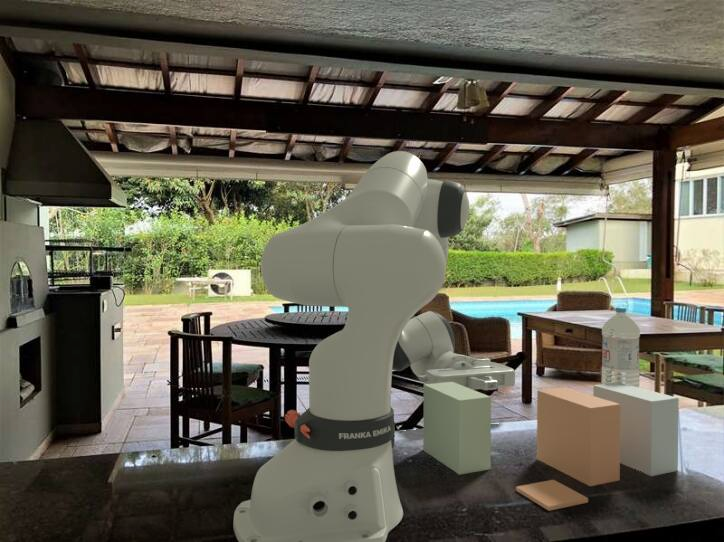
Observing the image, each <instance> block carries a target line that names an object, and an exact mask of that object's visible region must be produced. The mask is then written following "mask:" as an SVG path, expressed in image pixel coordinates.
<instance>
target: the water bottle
mask: <svg viewBox="0 0 724 542" xmlns="http://www.w3.org/2000/svg"><path fill="white" fill-rule="evenodd" d="M615 313H616V314H615V315H613V316H611V317H610V318H609V319H608V320H607V321H606V322H605V323H604V324H603V326H602V328H601V335H602V342H601V343H602V348H601V349H602V350H601V353H602V354H601V356H602V357H601V359H602V360H601V363H602V364H601V377H600V378H601V384H610V383H618V382H619V383H622V384H626V385H630V386H634V387H638V388H640V381H641V380H640V375H641V374H640V337H641V334H640V333H641V329H640V328H639V326H638V325H637V323H636V322H635V321H634V320H633V319H632V318H630V317H629V316H628V315H626V313H627V308H626V307H621V306H617V307H615Z"/></svg>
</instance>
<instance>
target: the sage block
mask: <svg viewBox="0 0 724 542" xmlns="http://www.w3.org/2000/svg"><path fill="white" fill-rule="evenodd" d="M491 422H492V397H491V395H487V394H485V393H482V392H479V391H477V390H476V389H475V390H472V389H470V388H467V387H465V386H462V385H459V384H457V383H454V382H444V383H434V384H425V383H424V384H423V431H422V432H423V436H422V437H423V438H422V439H423V442H422V443H423V447H422V448H423V450H422V451H424V452H425V453H427V454H428V455H430V456H432V457H433V458H434V459H435V460H437V461H438V462H440V463H442V464H443V465H444V466H446V467H447V468H449V469H451V470H452V471H453V472H455V473H456V474H458V475H465V474H471V473H476V472H477V473H478V472H483V471H488V470H491V468H492V467H491V464H492V463H491V458H492V457H491V456H492V455H491V454H492V452H491V451H492V450H491V448H492V443H491V442H492V441H491V440H492V439H491V437H492V436H491V435H492V428H491V427H492V423H491Z"/></svg>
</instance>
